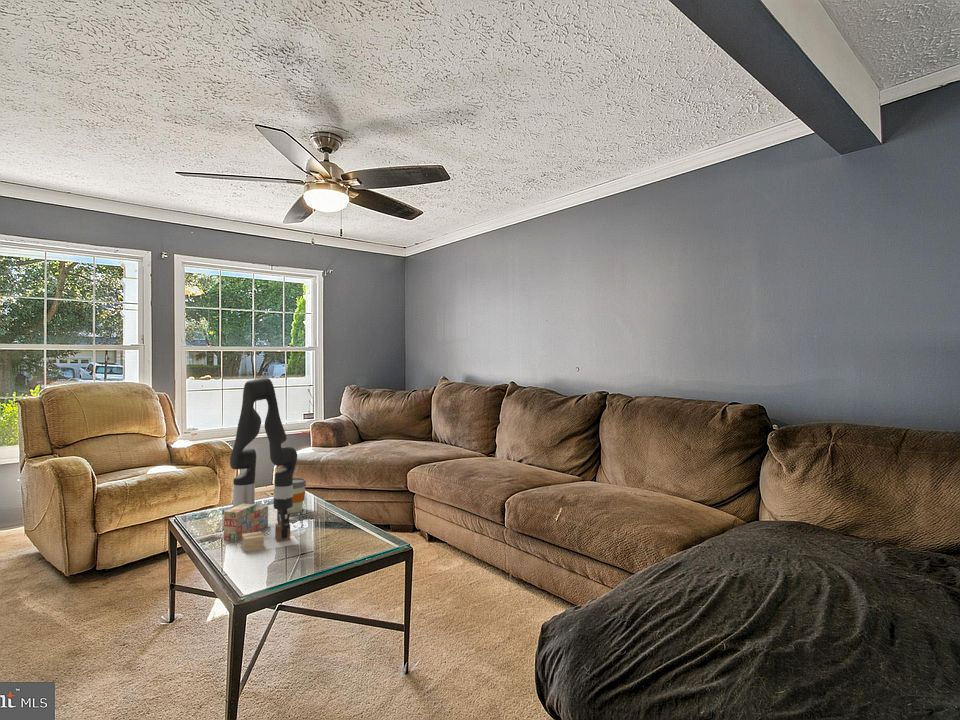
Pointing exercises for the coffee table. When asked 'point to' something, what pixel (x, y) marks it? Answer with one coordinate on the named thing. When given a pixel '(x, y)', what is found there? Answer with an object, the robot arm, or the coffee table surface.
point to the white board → (273, 544)
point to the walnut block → (279, 533)
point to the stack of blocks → (244, 520)
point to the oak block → (252, 541)
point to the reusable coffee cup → (298, 495)
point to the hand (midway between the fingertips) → (282, 535)
